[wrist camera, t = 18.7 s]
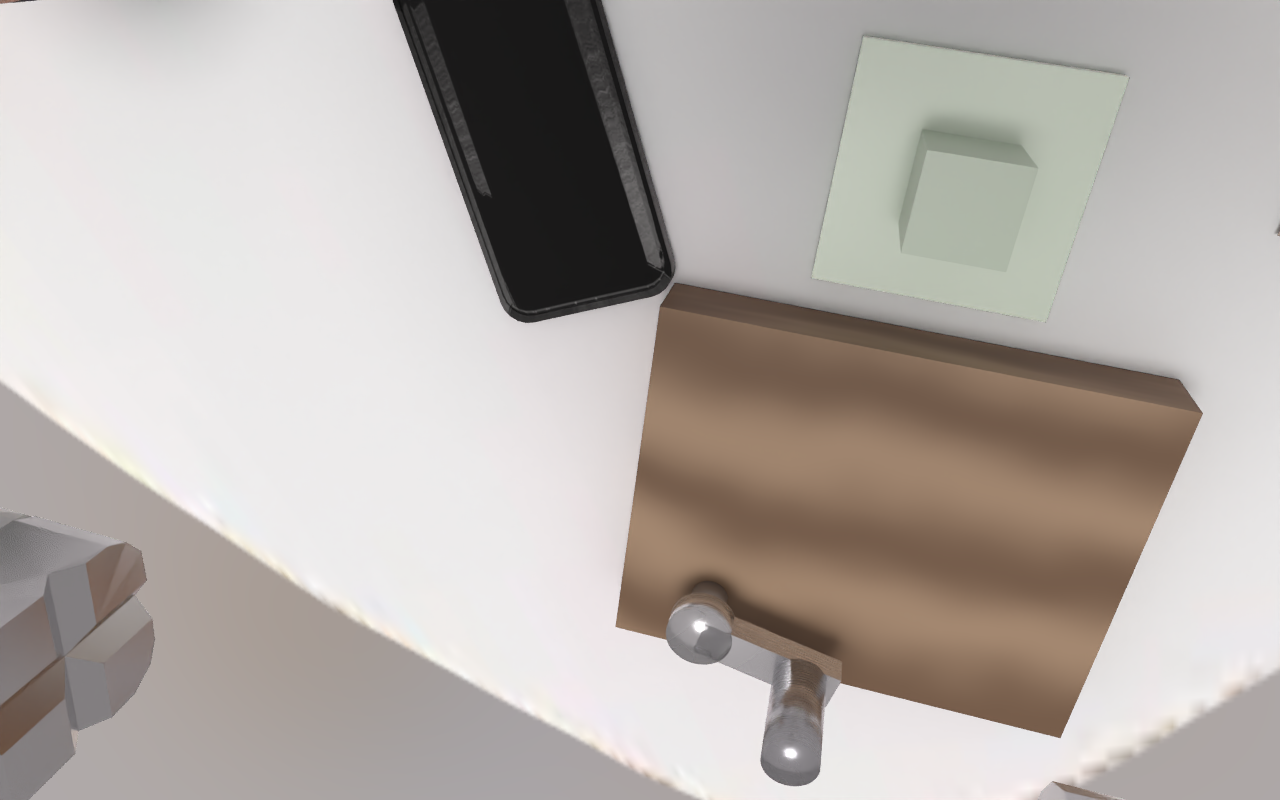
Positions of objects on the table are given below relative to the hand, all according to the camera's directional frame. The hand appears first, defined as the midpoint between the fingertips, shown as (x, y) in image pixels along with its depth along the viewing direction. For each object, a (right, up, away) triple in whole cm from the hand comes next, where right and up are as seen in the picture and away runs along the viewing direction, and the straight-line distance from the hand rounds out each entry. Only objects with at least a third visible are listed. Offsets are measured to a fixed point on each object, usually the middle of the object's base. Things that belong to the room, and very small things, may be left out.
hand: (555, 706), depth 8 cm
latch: (+6, -8, +32) cm, 33 cm away
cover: (+13, +11, +27) cm, 32 cm away
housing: (+11, -2, +33) cm, 35 cm away
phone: (-3, +14, +30) cm, 33 cm away
